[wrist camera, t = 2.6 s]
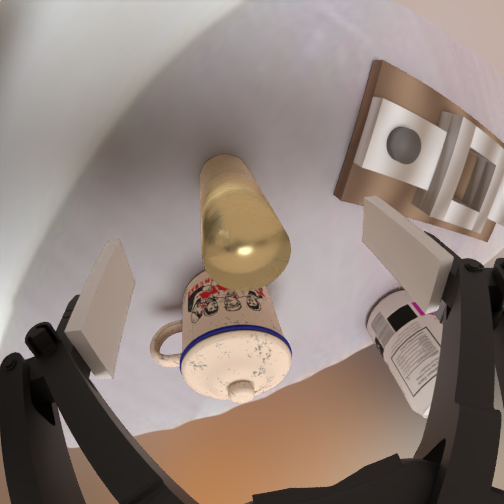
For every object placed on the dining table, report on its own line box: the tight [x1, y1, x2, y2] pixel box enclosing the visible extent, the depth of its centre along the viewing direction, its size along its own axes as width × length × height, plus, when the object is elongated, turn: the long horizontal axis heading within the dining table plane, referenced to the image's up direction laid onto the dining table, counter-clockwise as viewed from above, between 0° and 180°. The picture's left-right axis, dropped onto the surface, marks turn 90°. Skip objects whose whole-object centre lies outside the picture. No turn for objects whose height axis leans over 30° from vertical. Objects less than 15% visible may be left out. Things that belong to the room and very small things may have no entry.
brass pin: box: [200, 154, 291, 291], centre depth 18 cm, size 4×4×12 cm
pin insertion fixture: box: [334, 60, 504, 242], centre depth 24 cm, size 26×13×6 cm, turn 76°
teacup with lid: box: [150, 271, 292, 403], centre depth 25 cm, size 12×9×12 cm
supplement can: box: [367, 290, 443, 418], centre depth 29 cm, size 8×8×15 cm
